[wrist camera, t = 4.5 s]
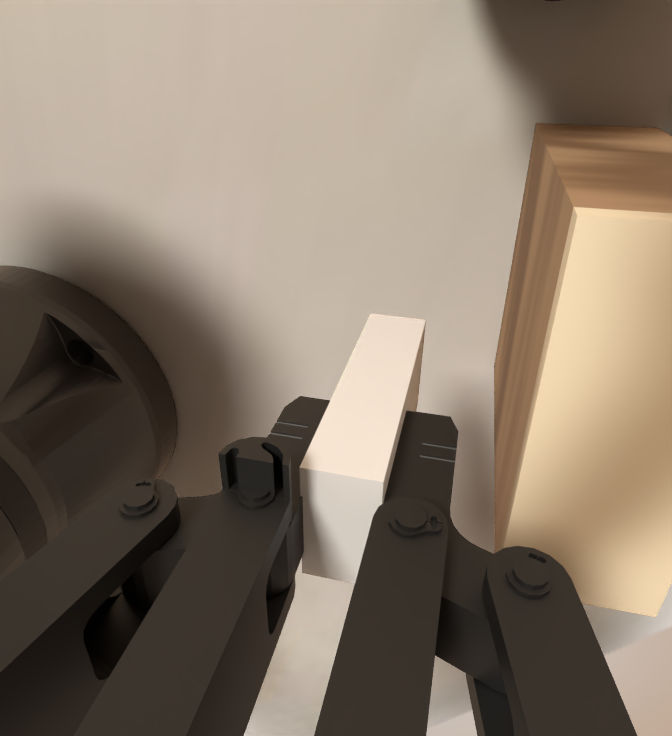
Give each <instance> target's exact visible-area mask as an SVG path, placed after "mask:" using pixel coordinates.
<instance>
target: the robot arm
mask: <svg viewBox="0 0 672 736" xmlns="http://www.w3.org/2000/svg"><path fill="white" fill-rule="evenodd" d="M425 324H426V320H423V319H415V318H406V317H397V316H389V315H380V314H370V316H369V318H368V320H367V322H366V324H365V327H364V329H363V331H362V333H361V335H360V337H359V340H358V342H357V344H356V346H355V348H354V350H353V353H352V355H351V357H350V359H349V361H348V363H347V366H346V368H345V370H344V372H343V374H342V376H341V379H340V381H339V383H338V385H337V387H336V389H335V392H334V394H333V396H332V398H331V400H323V399H316V398H309V397H303V396H300V397H298V398H297V399H295V400H294V401H293V402H291V403H290V404H288V405H287V406H285V408H284V409H283V411H282V413H281V415H280V416H279V418H278V420H277V423H275V425H274V427H273V429H272V430H271V434H269V436H268V437H267V438H263V437H250V438H246V439H241V440H237V441H235V442H233V443H231V444H229V445H227V446H226V447H225V448H224V449H223V450H222V451H221V452H220V453H219V460H220V469H221V477H222V486H223V489H222V491H221V492H220V493H218V494H215V495H209V496H201V497H186V498H177V494H176V492H175V490H174V488H173V486H171V485H170V484H168V483H167V482H165V481H162V480H158V478H159V476H160V475H161V474H162V472H163V471H164V470H165V468H166V467H167V465H168V463H169V461H170V459H171V457H172V454H173V452H174V448H175V444H176V437H177V420H176V412H175V407H174V403H173V399H172V396H171V393H170V390H169V387H168V385H167V382H166V380H165V378H164V376H163V374H162V372H161V370H160V368H159V366H158V365H157V363H156V361H155V360H154V358H153V356H152V355H151V353H150V352H149V351H148V349H147V348H146V346H145V345H144V344H143V342H142V341H141V340H140V339H139V338H138V336H137V335H136V334H135V333H134V332H133V331H132V330H131V329H130V327H129V326H128V325H127V324H126V323H125V322H124V321H123V320H122V319H120V318H119V317H118V316H117V315H116V314H115V313H114V312H113V311H111V310H110V309H109V308H108V307H107V306H105V305H104V304H103V303H101V302H100V301H99V300H97V299H96V298H94V297H93V296H91V295H90V294H88V293H87V292H85V291H83V290H82V289H80V288H78V287H76V286H74V285H72V284H71V283H69V282H67V281H64V280H62V279H60V278H58V277H55V276H52V275H50V274H47V273H44V272H40V271H37V270H33V269H28V268H23V267H16V266H0V736H244V733H245V730H246V727H247V725H248V722H249V719H250V716H251V713H252V711H253V708H254V705H255V702H256V700H257V697H258V694H259V691H260V689H261V686H262V683H263V680H264V678H265V675H266V672H267V669H268V667H269V664H270V661H271V658H272V656H273V653H274V650H275V647H276V645H277V642H278V639H279V636H280V634H281V631H282V628H283V625H284V623H285V620H286V617H287V614H288V611H289V609H290V606H291V603H292V600H293V598H294V592H295V573H296V570H297V568H298V565H299V563H300V560H301V557H302V573H306V574H311V575H315V576H320V577H325V578H330V579H334V580H339V581H344V582H348V583H353V584H355V586H354V589H353V593H352V597H351V601H350V604H349V608H348V612H347V615H346V619H345V623H344V627H343V630H342V634H341V638H340V642H339V645H338V649H337V653H336V656H335V660H334V664H333V668H332V671H331V675H330V679H329V683H328V686H327V690H326V694H325V697H324V701H323V705H322V709H321V712H320V716H319V720H318V724H317V727H316V731H315V735H314V736H426V731H427V722H428V713H429V704H430V694H431V685H432V676H433V667H434V658H435V655H436V656H437V657H439V658H441V659H443V660H444V661H446V662H448V663H450V664H451V665H453V666H455V667H456V668H458V669H460V670H462V671H463V672H465V673H466V679H467V684H468V689H469V694H470V699H471V704H472V709H473V714H474V720H475V725H476V730H477V735H478V736H637V734H636V732H635V729H634V727H633V724H632V722H631V720H630V718H629V715H628V713H627V710H626V708H625V706H624V703H623V701H622V698H621V696H620V693H619V691H618V689H617V686H616V684H615V682H614V679H613V677H612V674H611V672H610V670H609V667H608V665H607V663H606V660H605V658H604V655H603V653H602V651H601V648H600V646H599V643H598V641H597V639H596V636H595V634H594V631H593V629H592V627H591V624H590V622H589V620H588V617H587V615H586V612H585V610H584V608H583V605H582V603H581V600H580V598H579V596H578V593H577V591H576V589H575V586H574V584H573V581H572V579H571V577H570V576H569V574H568V573H567V571H566V570H565V568H564V567H563V566H562V565H561V564H560V563H559V562H558V561H556V560H555V559H554V558H553V557H551V556H550V555H548V554H546V553H544V552H541V551H539V550H537V549H535V548H529V547H523V546H513V547H506V548H503V549H501V550H499V551H498V552H496V553H495V554H492V553H490V552H488V551H486V550H484V549H481V548H479V547H478V546H476V545H474V544H472V543H471V542H469V541H468V540H466V539H465V538H464V537H463V536H462V535H461V534H460V533H459V532H458V531H457V529H456V528H455V527H454V525H453V523H452V520H451V518H450V503H451V494H452V485H453V475H454V466H455V457H456V448H457V438H458V430H457V429H456V427H455V425H454V423H453V421H452V419H451V417H448V416H441V415H434V414H428V413H421V412H416V408H417V403H418V393H419V383H420V373H421V363H422V353H423V343H424V333H425Z"/></svg>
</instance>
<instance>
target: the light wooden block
mask: <svg viewBox="0 0 672 736" xmlns="http://www.w3.org/2000/svg"><path fill="white" fill-rule="evenodd" d="M494 444H495V553H496V552H498V551H499V550H501V549H503V548H506V547H513V546H523V547H529V548H535V549H537V550H539V551H541V552H544V553H546V554H548V555H550V556H551V557H553V558H554V559H555V560H556V561H558V562H559V563H560V564H561V565H562V566H563V567H564V568H565V570H566V571H567V573H568V574H569V576H570V577H571V579H572V581H573V584H574V586H575V589H576V591H577V593H578V596H579V598H580V600H581V603H584V604H589V605H594V606H600V607H605V608H610V609H615V610H621V611H626V612H631V613H636V614H642V615H647V616H652V617H656V616H657V614H658V612H659V610H660V607H661V605H662V603H663V601H664V599H665V596H666V594H667V592H668V590H669V588H670V585H671V583H672V136H670V135H669V134H667V133H666V132H664V131H662V130H661V129H659V128H646V127H621V126H595V125H570V124H545V123H536V126H535V132H534V137H533V143H532V149H531V155H530V161H529V167H528V172H527V178H526V184H525V190H524V196H523V202H522V207H521V213H520V219H519V225H518V231H517V237H516V242H515V248H514V254H513V260H512V266H511V272H510V277H509V283H508V289H507V295H506V301H505V307H504V312H503V318H502V324H501V330H500V336H499V342H498V347H497V353H496V359H495V365H494Z"/></svg>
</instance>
